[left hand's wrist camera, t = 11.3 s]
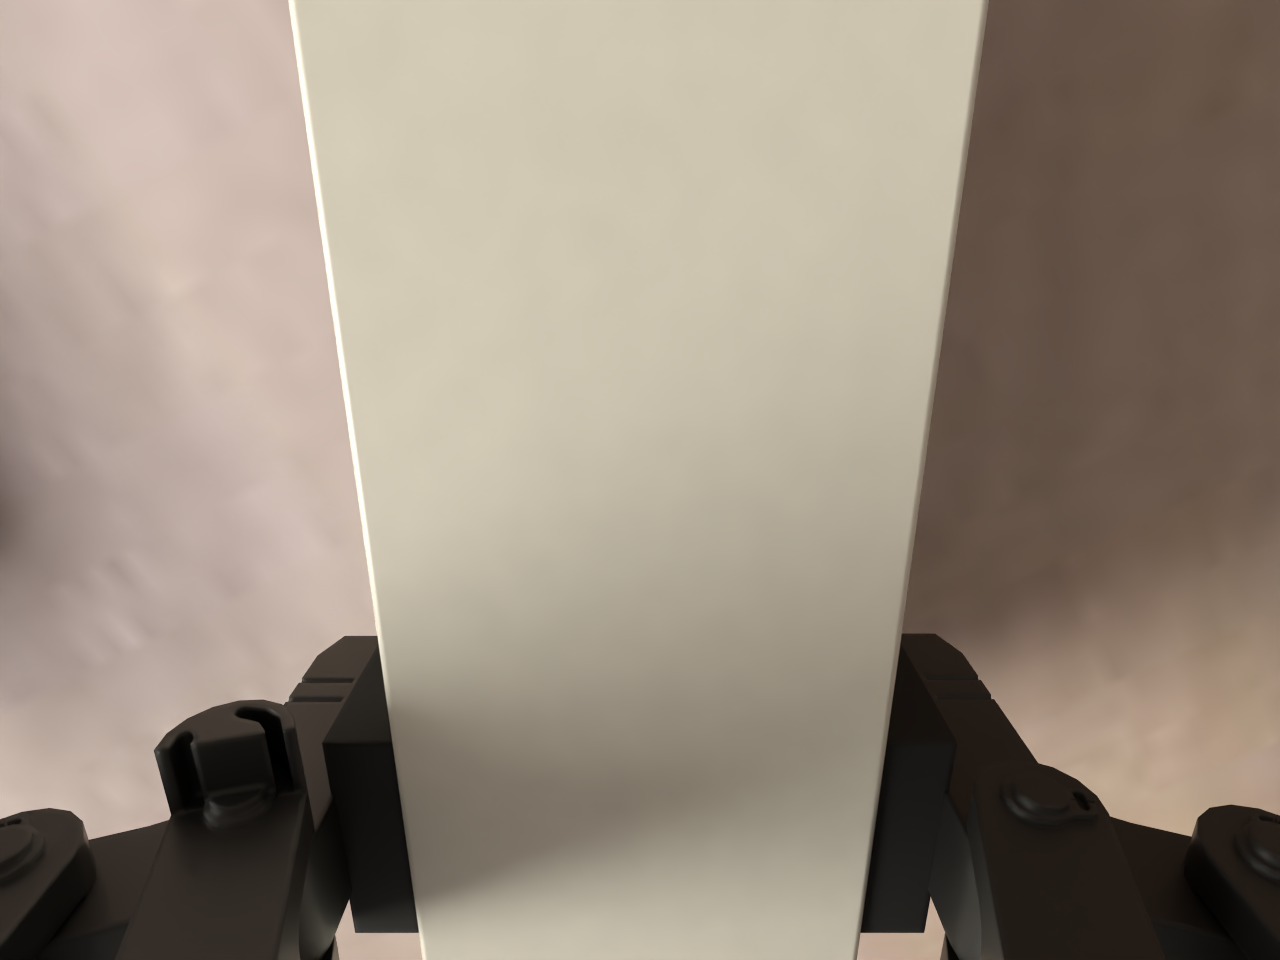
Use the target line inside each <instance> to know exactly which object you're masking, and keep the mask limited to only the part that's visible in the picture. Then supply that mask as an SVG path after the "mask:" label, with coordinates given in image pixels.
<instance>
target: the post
mask: <svg viewBox="0 0 1280 960" xmlns="http://www.w3.org/2000/svg"><path fill="white" fill-rule="evenodd" d="M288 1H289V8H290V15H291V22H292V30H293V37H294V44H295V51H296V58H297V65H298V72H299V80H300V87H301V94H302V101H303V108H304V115H305V122H306V129H307V137H308V144H309V151H310V158H311V165H312V172H313V179H314V187H315V194H316V201H317V208H318V215H319V222H320V229H321V236H322V244H323V251H324V258H325V265H326V272H327V279H328V286H329V294H330V301H331V308H332V315H333V322H334V329H335V336H336V343H337V351H338V358H339V365H340V372H341V379H342V386H343V393H344V401H345V408H346V415H347V422H348V429H349V436H350V443H351V450H352V458H353V465H354V472H355V479H356V486H357V493H358V500H359V508H360V515H361V522H362V529H363V536H364V543H365V550H366V557H367V565H368V572H369V579H370V586H371V593H372V600H373V607H374V615H375V622H376V629H377V636H378V643H379V650H380V657H381V664H382V672H383V679H384V686H385V693H386V700H387V707H388V714H389V722H390V729H391V736H392V743H393V750H394V757H395V764H396V771H397V779H398V786H399V793H400V800H401V807H402V814H403V821H404V829H405V836H406V843H407V850H408V857H409V864H410V871H411V878H412V886H413V893H414V900H415V907H416V914H417V921H418V928H419V936H420V943H421V950H422V957H423V960H857V954H858V946H859V939H860V932H861V925H862V917H863V910H864V903H865V896H866V888H867V881H868V874H869V867H870V860H871V852H872V845H873V838H874V831H875V823H876V816H877V809H878V802H879V794H880V787H881V780H882V773H883V765H884V758H885V751H886V744H887V736H888V729H889V722H890V715H891V707H892V700H893V693H894V686H895V679H896V671H897V664H898V657H899V650H900V642H901V635H902V628H903V621H904V613H905V606H906V599H907V592H908V584H909V577H910V570H911V563H912V555H913V548H914V541H915V534H916V527H917V519H918V512H919V505H920V498H921V490H922V483H923V476H924V469H925V461H926V454H927V447H928V440H929V432H930V425H931V418H932V411H933V403H934V396H935V389H936V382H937V375H938V367H939V360H940V353H941V346H942V338H943V331H944V324H945V317H946V309H947V302H948V295H949V288H950V280H951V273H952V266H953V259H954V251H955V244H956V237H957V230H958V222H959V215H960V208H961V201H962V194H963V186H964V179H965V172H966V165H967V157H968V150H969V143H970V136H971V128H972V121H973V114H974V107H975V99H976V92H977V85H978V78H979V70H980V63H981V56H982V49H983V42H984V34H985V27H986V20H987V13H988V5H989V0H288Z"/></svg>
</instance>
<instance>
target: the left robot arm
mask: <svg viewBox="0 0 1280 960" xmlns="http://www.w3.org/2000/svg"><path fill="white" fill-rule="evenodd" d="M154 753H155V756H156V760H157V764H158V768H159V771H160V775H161V779H162V782H163V786H164V790H165V793H166V797H167V801H168V804H169V808H170V812H171V817H170V820H168V821H164V822H161V823H158V824H154V825H151V826H147V827H143V828H139V829H134V830H130V831H126V832H121V833H117V834H113V835H108V836H104V837H100V838H95V839H91V840H88V837H87V834H86V831H85V827H84V824H83V821H82V820H80V819H79V818H78V817H77V816H76V815H74V814H73V813H72V812H71V811H66V810H59V809H52V808H47V809H40V810H33V811H26V812H20V813H18V814H15V815H12V816H9V817H6V818H3V819H0V960H339V954H338V948H337V942H336V937H335V933H336V930H337V928H338V925H339V923H340V920H341V918H342V915H343V913H344V911H345V908H346V906H347V903H348V901H349V899H350V905H351V911H352V916H353V922H354V928H355V933H419V928H418V921H417V914H416V907H415V900H414V893H413V886H412V878H411V871H410V864H409V857H408V850H407V843H406V836H405V829H404V821H403V814H402V807H401V800H400V793H399V786H398V779H397V771H396V764H395V757H394V750H393V743H392V736H391V729H390V722H389V714H388V707H387V700H386V693H385V686H384V679H383V672H382V664H381V657H380V650H379V643H378V636H344V637H343V638H342V639H340V640H339V641H337V642H336V643H335V644H333V645H332V646H330V647H329V648H328V649H326V650H325V651H323V652H322V653H321V654H319V655H318V656H317V657H316V659H315V660H314V662H313V663H312V665H311V666H310V667H309V669H308V670H307V672H306V673H305V675H304V676H303V678H302V683H299V684H298V685H297V686H296V688H295V689H294V691H293V692H292V694H291V695H290V697H289V702H285V704H284V705H282V704H278V703H274V702H270V701H266V700H244V701H236V702H232V703H228V704H224V705H220V706H216V707H212V708H210V709H208V710H205V711H203V712H201V713H199V714H197V715H194V716H192V717H190V718H188V719H186V720H185V721H183V722H182V723H181V724H179V725H178V726H177V727H175V728H174V729H172V730H171V731H170V732H168V733H167V734H166V735H165V737H164V738H163V739H162V740H161V742H160V743H159V744H158V746H157V747H156V748H155V750H154ZM930 896H931V898H932V901H933V903H934V906H935V908H936V910H937V913H938V915H939V918H940V920H941V923H942V925H943V928H944V930H945V937H944V942H943V948H942V953H941V958H940V960H1280V816H1279V815H1276V814H1273V813H1270V812H1267V811H1264V810H1261V809H1258V808H1251V807H1244V806H1237V805H1225V806H1219V807H1212V808H1209V809H1208V810H1207V811H1205V812H1204V813H1203V814H1202V815H1201V816H1199V817H1198V819H1197V822H1196V825H1195V828H1194V831H1193V834H1192V837H1190V836H1186V835H1181V834H1177V833H1173V832H1168V831H1164V830H1160V829H1155V828H1151V827H1147V826H1142V825H1138V824H1133V823H1130V822H1126V821H1123V820H1120V819H1116V818H1113V817H1110V816H1109V813H1108V812H1107V810H1106V809H1105V807H1104V806H1103V804H1102V803H1101V801H1100V800H1099V798H1098V797H1097V796H1096V795H1095V794H1094V793H1093V792H1092V791H1090V790H1089V789H1088V788H1087V787H1085V786H1084V785H1083V784H1082V783H1081V782H1079V781H1078V780H1077V779H1075V778H1073V777H1071V776H1069V775H1067V774H1065V773H1063V772H1061V771H1059V770H1057V769H1055V768H1053V767H1050V766H1046V765H1042V764H1039V763H1038V762H1037V761H1036V759H1035V758H1034V756H1033V755H1032V754H1031V752H1030V751H1029V749H1028V748H1027V746H1026V745H1025V743H1024V742H1023V740H1022V739H1021V738H1020V736H1019V735H1018V733H1017V732H1016V730H1015V729H1014V727H1013V726H1012V725H1011V723H1010V722H1009V720H1008V719H1007V717H1006V716H1005V714H1004V713H1003V711H1002V710H1001V709H1000V707H999V706H998V704H997V703H996V701H995V700H994V699H991V694H990V693H989V691H988V690H987V688H986V687H985V685H984V684H983V683H982V681H981V680H978V675H977V674H976V672H975V671H974V669H973V668H972V667H971V665H970V664H969V662H968V661H967V659H966V658H965V656H964V655H963V654H962V653H961V652H960V651H959V650H957V649H956V648H954V647H953V646H952V645H950V644H949V643H947V642H946V641H945V640H943V639H942V638H940V637H939V636H938V635H936V634H902V635H901V642H900V650H899V657H898V664H897V671H896V679H895V686H894V693H893V700H892V707H891V715H890V722H889V729H888V736H887V744H886V751H885V758H884V765H883V773H882V780H881V787H880V794H879V802H878V809H877V816H876V823H875V831H874V838H873V845H872V852H871V860H870V867H869V874H868V881H867V888H866V896H865V903H864V910H863V917H862V925H861V932H860V933H924V930H925V925H926V919H927V913H928V908H929V902H930Z"/></svg>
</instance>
